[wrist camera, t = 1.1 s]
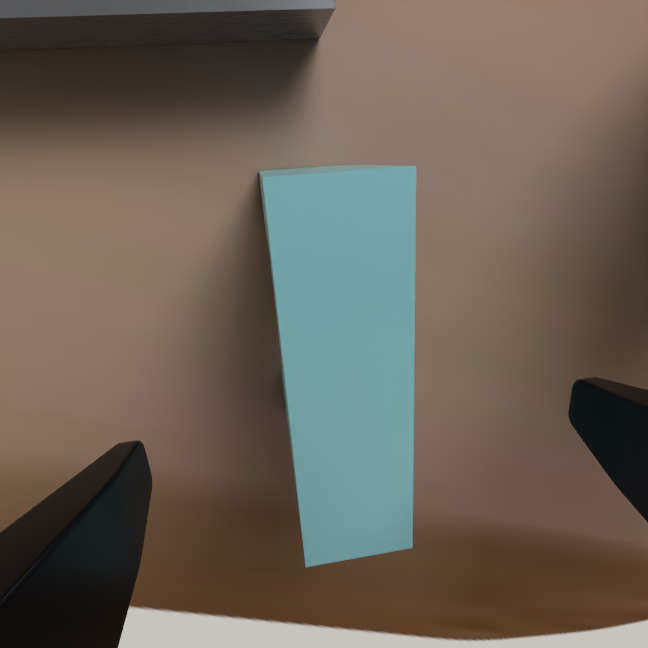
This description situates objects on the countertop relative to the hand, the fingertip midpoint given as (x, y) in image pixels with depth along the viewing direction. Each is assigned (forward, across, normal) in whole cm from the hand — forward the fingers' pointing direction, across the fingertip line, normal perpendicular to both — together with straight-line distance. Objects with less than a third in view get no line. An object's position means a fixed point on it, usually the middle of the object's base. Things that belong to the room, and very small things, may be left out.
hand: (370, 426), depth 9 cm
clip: (+9, 0, 0) cm, 9 cm away
